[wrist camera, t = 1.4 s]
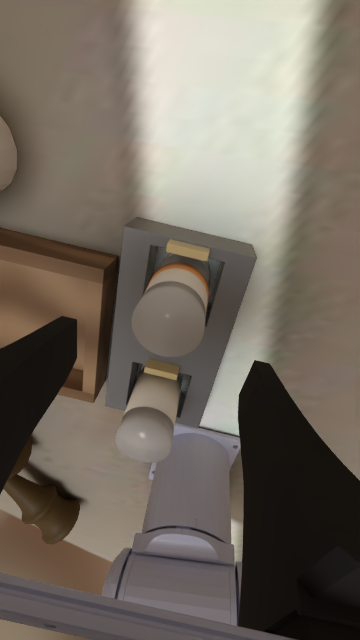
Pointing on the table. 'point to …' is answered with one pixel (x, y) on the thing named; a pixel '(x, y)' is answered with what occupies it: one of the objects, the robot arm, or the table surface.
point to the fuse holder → (218, 323)
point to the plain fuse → (149, 418)
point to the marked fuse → (173, 307)
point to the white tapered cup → (7, 155)
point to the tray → (59, 301)
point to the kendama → (41, 503)
